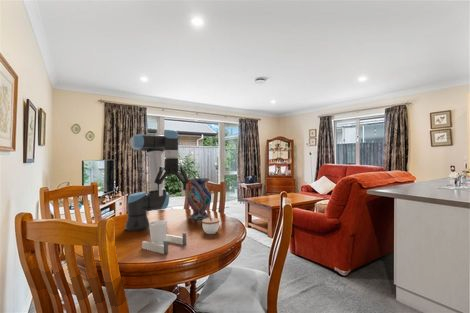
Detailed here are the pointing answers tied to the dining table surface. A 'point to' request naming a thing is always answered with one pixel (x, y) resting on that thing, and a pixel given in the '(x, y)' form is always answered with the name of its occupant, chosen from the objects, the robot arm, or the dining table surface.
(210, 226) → the lidded jar
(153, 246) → the pair of white bars
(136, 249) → the dining table surface
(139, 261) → the dining table surface
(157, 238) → the cup
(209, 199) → the vase
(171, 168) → the robot arm
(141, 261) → the dining table surface
